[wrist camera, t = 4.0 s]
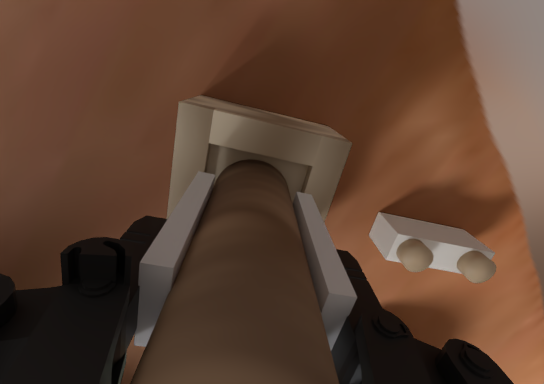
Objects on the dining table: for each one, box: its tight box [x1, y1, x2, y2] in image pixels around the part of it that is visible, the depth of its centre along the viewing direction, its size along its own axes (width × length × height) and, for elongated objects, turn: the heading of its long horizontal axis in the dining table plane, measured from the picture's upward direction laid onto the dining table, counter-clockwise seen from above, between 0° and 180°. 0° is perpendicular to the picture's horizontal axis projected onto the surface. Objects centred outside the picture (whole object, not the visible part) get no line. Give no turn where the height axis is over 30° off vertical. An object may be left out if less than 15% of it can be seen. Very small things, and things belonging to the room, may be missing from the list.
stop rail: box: [369, 212, 496, 283], centre depth 19 cm, size 7×2×4 cm, turn 76°
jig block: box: [167, 95, 352, 222], centre depth 16 cm, size 8×8×5 cm
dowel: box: [130, 159, 339, 384], centre depth 9 cm, size 4×4×12 cm
